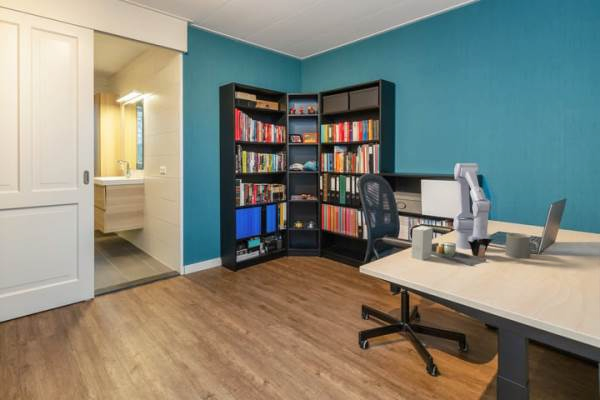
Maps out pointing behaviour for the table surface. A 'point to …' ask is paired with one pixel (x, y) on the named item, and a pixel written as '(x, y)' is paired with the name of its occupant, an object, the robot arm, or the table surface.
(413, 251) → the skincare box
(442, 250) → the pusher
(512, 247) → the coffee mug
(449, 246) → the jar
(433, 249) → the grey rectangular tray
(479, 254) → the jar
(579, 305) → the table surface
